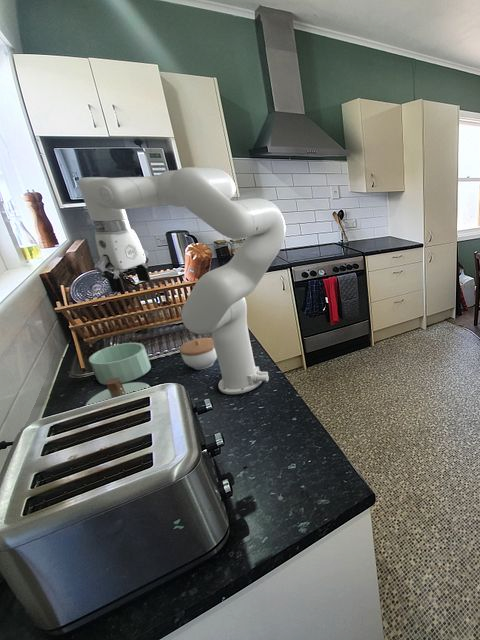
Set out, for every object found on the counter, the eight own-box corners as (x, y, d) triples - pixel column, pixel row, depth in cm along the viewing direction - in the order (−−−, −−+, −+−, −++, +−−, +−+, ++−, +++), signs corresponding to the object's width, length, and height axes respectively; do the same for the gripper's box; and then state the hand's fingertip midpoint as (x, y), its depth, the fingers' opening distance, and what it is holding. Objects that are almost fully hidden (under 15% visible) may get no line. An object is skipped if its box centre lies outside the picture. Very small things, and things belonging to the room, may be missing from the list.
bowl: (160, 362, 120) (154, 343, 116) (129, 385, 107) (121, 364, 104) (121, 361, 119) (114, 342, 116) (85, 384, 107) (76, 363, 104)
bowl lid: (163, 386, 107) (157, 367, 104) (125, 417, 94) (117, 397, 91) (116, 384, 107) (108, 366, 104) (71, 416, 94) (61, 396, 91)
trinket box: (204, 375, 113) (198, 350, 109) (177, 370, 115) (169, 346, 111) (228, 359, 123) (222, 335, 119) (202, 355, 125) (195, 331, 121)
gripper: (98, 232, 86) (121, 296, 93) (149, 221, 102) (165, 277, 109) (68, 231, 86) (93, 296, 93) (123, 221, 102) (141, 276, 109)
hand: (132, 286), depth 101 cm, fingers open, 9 cm apart
